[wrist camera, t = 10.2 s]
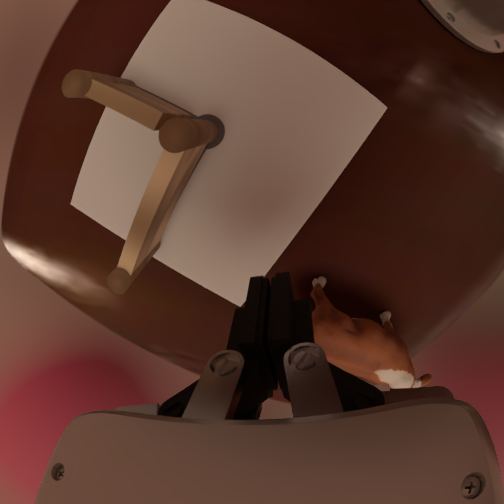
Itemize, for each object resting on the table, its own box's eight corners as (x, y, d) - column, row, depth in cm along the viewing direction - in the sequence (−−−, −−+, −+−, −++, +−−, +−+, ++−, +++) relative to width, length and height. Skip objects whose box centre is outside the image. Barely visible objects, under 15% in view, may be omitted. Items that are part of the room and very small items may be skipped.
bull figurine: (383, 353, 25) (405, 416, 18) (279, 297, 23) (282, 373, 15) (413, 325, 24) (445, 386, 16) (312, 257, 21) (332, 327, 14)
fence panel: (200, 115, 16) (168, 112, 11) (222, 126, 17) (199, 127, 11) (140, 245, 21) (101, 287, 15) (157, 255, 21) (123, 301, 15)
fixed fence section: (123, 76, 15) (69, 66, 10) (195, 111, 17) (160, 106, 11) (113, 96, 16) (57, 92, 10) (183, 132, 17) (144, 137, 11)
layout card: (179, -7, 13) (177, -9, 12) (385, 107, 16) (387, 107, 15) (73, 202, 20) (70, 204, 20) (240, 304, 23) (240, 307, 23)
